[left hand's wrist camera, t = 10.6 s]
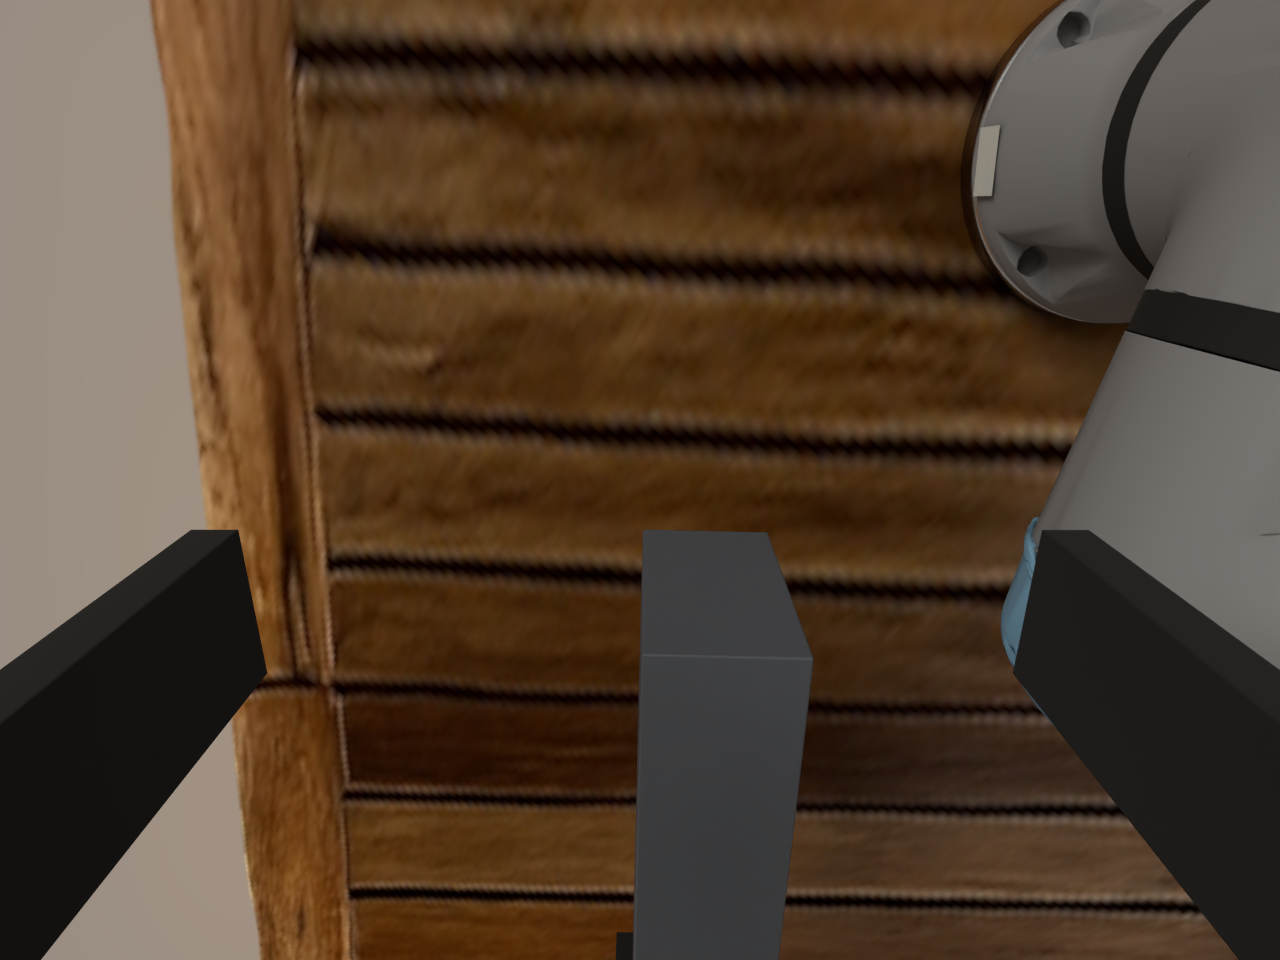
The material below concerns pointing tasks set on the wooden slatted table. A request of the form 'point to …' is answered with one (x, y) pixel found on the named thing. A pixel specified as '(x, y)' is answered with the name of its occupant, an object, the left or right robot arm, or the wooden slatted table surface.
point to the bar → (716, 746)
